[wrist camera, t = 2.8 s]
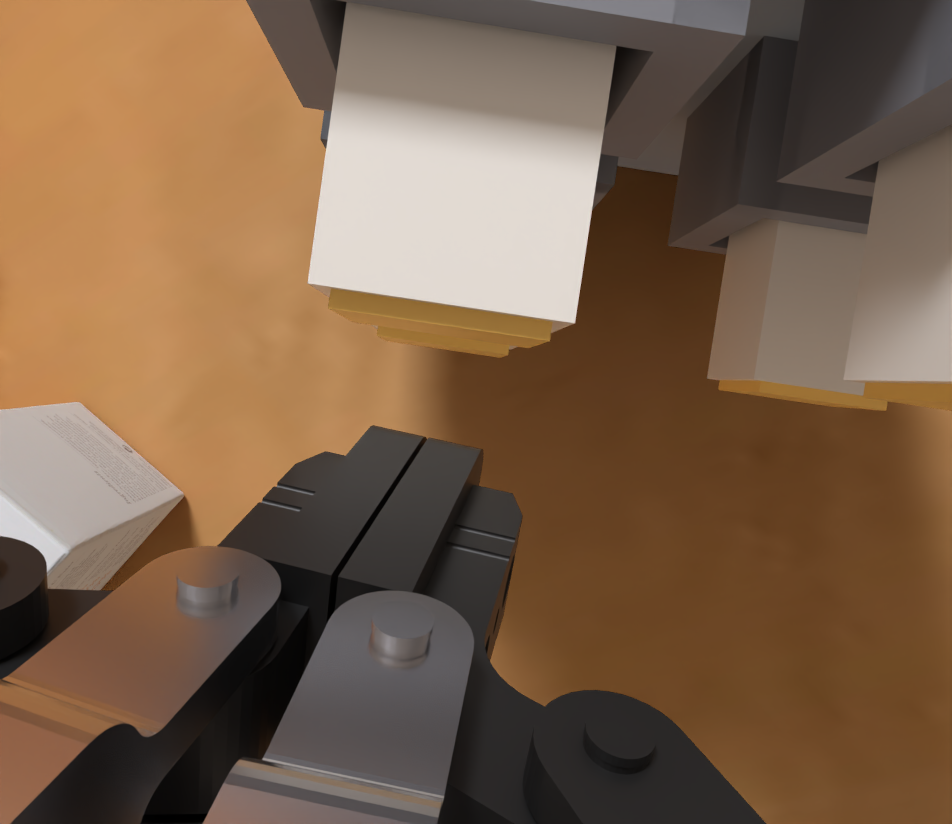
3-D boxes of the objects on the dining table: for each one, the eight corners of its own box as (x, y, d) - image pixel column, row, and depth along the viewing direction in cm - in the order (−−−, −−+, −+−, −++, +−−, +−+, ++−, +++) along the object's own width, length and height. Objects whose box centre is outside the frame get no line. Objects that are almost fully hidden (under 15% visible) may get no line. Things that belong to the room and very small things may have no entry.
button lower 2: (862, 233, 26) (937, 208, 22) (834, 407, 26) (903, 413, 22) (732, 213, 26) (784, 183, 22) (705, 388, 26) (752, 390, 22)
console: (850, 45, 34) (1833, -758, 10) (810, 299, 34) (1662, 121, 10) (394, -30, 33) (254, -1092, 9) (357, 230, 33) (132, -135, 10)
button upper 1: (582, 79, 17) (625, -15, 13) (542, 351, 17) (572, 342, 13) (377, 45, 17) (355, -60, 13) (339, 320, 17) (305, 303, 13)
